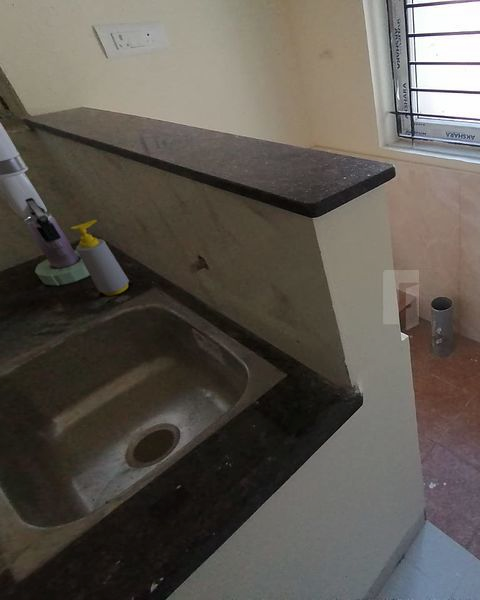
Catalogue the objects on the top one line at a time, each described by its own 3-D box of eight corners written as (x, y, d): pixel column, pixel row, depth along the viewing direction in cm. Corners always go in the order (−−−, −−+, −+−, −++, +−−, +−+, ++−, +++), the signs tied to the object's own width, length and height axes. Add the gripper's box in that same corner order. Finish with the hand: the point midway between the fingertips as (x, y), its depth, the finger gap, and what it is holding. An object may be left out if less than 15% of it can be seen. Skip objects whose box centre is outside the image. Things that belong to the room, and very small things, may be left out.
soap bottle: (136, 286, 99) (102, 223, 88) (107, 300, 95) (67, 235, 84) (124, 278, 102) (89, 215, 91) (95, 291, 98) (55, 227, 87)
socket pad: (52, 291, 98) (45, 281, 97) (34, 274, 105) (27, 265, 103) (108, 268, 107) (103, 258, 105) (88, 254, 113) (83, 245, 111)
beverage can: (79, 260, 109) (49, 210, 100) (84, 268, 105) (53, 217, 96) (54, 268, 105) (20, 218, 96) (58, 277, 102) (23, 225, 93)
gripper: (-28, 164, 90) (20, 233, 101) (-6, 178, 82) (43, 252, 93) (12, 155, 95) (53, 222, 106) (36, 168, 87) (78, 240, 97)
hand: (48, 235), depth 99 cm, fingers closed on beverage can, 6 cm apart
